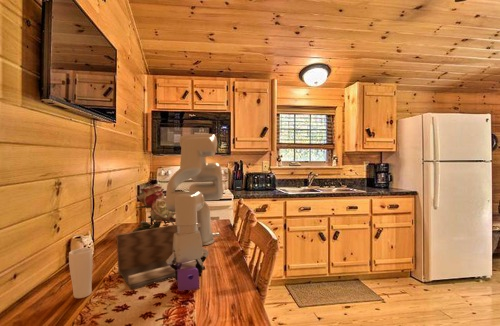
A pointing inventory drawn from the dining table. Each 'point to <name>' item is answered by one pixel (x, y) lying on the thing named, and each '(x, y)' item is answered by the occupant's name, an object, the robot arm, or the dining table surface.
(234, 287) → the dining table surface
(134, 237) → the stand
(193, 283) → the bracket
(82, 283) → the white cup
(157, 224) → the rose bouquet
